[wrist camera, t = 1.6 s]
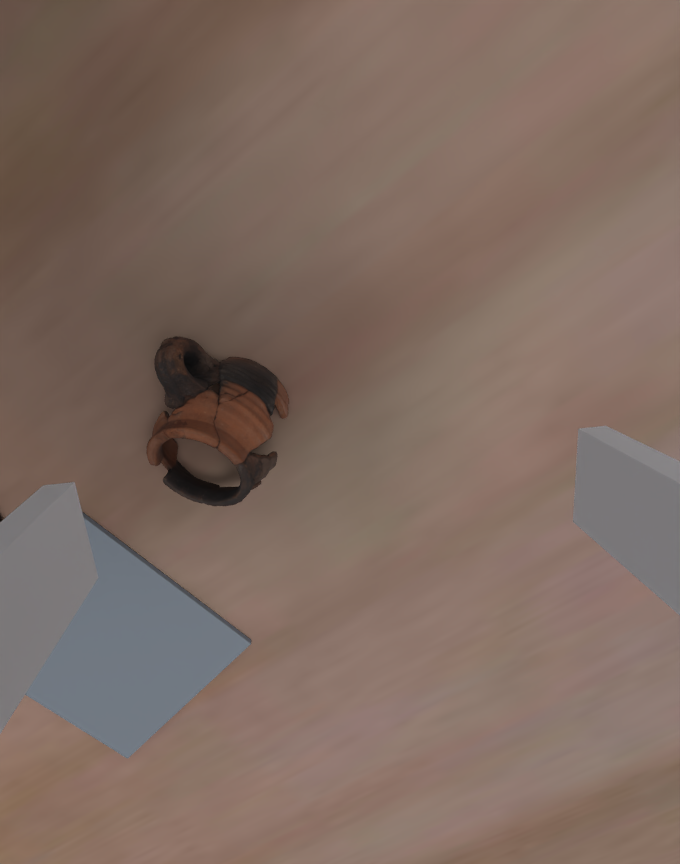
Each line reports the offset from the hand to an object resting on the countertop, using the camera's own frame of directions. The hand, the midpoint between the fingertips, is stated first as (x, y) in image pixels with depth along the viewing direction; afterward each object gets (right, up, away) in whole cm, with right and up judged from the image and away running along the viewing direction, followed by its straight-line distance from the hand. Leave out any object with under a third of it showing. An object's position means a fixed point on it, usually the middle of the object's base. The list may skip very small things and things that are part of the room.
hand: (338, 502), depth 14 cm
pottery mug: (-9, +4, +26) cm, 27 cm away
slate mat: (-20, -15, +30) cm, 39 cm away
